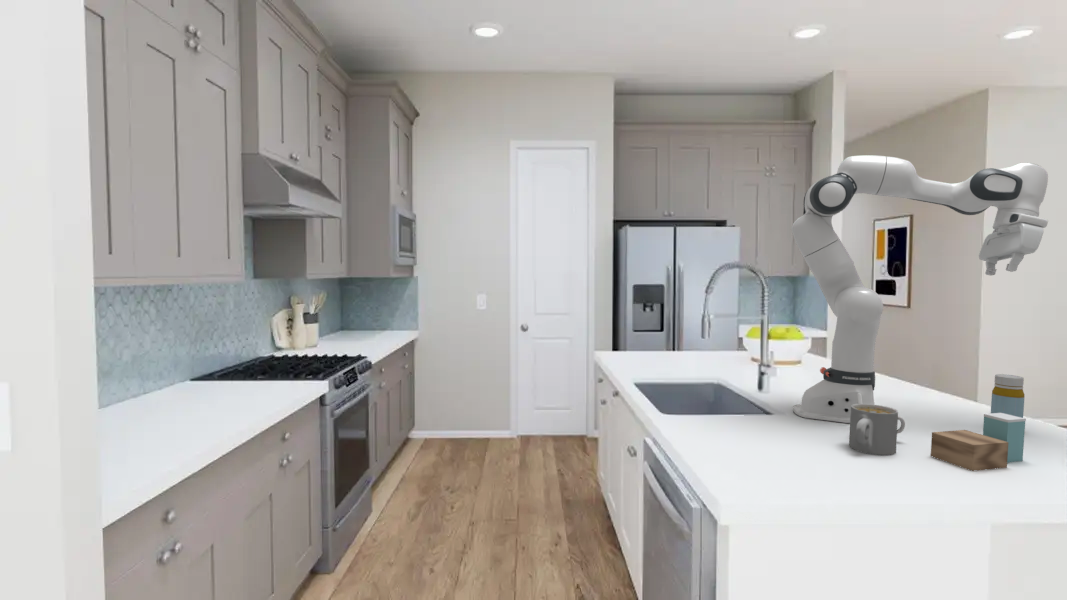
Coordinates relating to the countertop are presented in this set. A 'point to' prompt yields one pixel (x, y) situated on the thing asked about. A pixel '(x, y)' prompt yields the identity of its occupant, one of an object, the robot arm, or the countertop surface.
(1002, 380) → the bottle
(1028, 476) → the countertop surface
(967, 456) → the walnut block
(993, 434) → the tea tin
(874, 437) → the coffee mug
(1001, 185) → the robot arm
